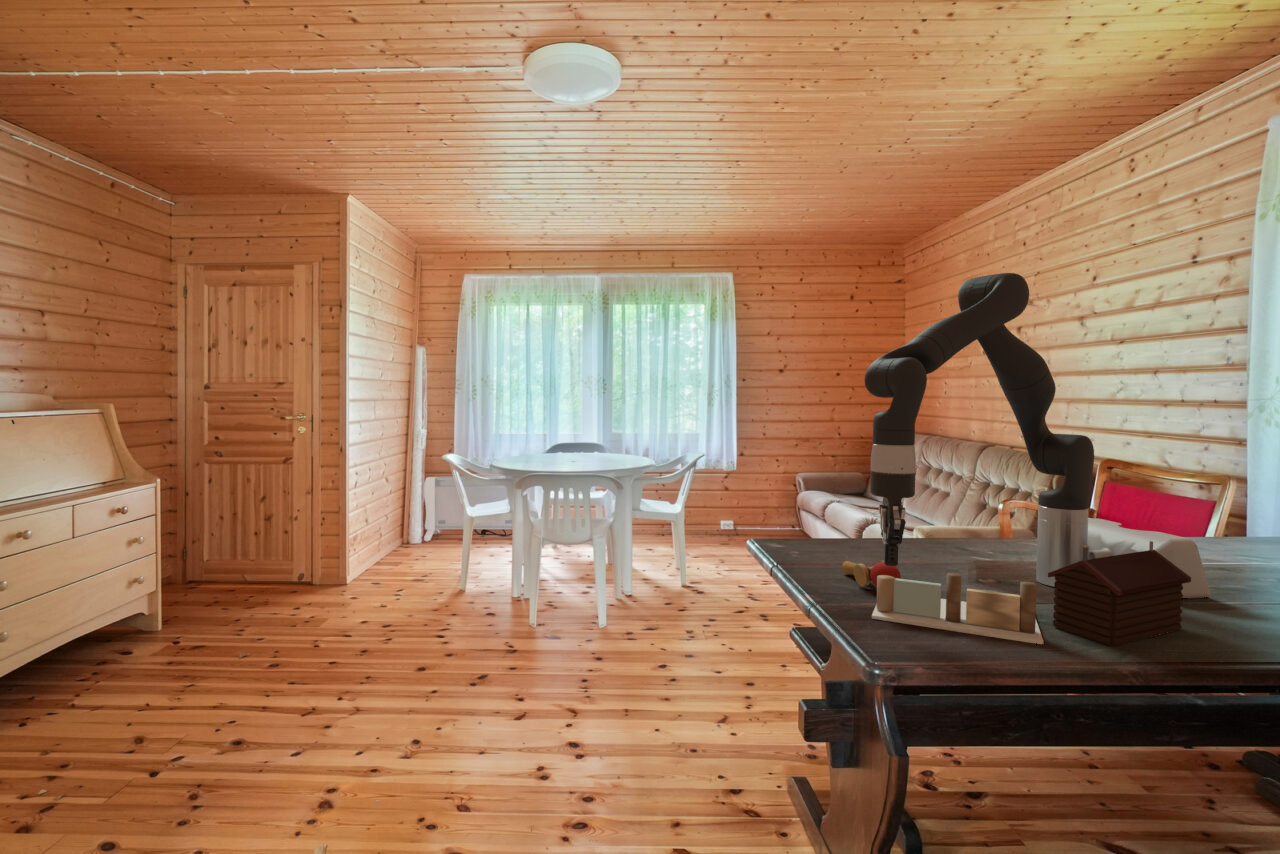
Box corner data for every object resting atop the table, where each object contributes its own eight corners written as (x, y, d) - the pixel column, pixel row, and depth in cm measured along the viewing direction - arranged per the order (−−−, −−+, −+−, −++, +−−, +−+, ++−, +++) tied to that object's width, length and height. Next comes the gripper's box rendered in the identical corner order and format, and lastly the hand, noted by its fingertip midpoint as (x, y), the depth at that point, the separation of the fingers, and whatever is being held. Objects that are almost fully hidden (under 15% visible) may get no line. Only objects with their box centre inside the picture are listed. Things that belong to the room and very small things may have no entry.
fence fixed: (1034, 633, 109) (1035, 582, 108) (1035, 638, 107) (1037, 586, 106) (945, 620, 115) (946, 572, 115) (945, 624, 113) (946, 575, 113)
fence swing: (940, 614, 116) (941, 581, 116) (940, 619, 113) (940, 586, 113) (877, 605, 121) (878, 574, 121) (875, 610, 118) (876, 578, 118)
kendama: (829, 580, 145) (875, 589, 127) (832, 552, 146) (878, 558, 128) (859, 585, 146) (908, 595, 129) (862, 558, 147) (911, 564, 130)
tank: (1047, 569, 151) (1049, 518, 150) (1107, 567, 153) (1109, 516, 152) (1142, 602, 126) (1144, 541, 125) (1212, 599, 128) (1215, 539, 127)
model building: (1117, 611, 121) (1120, 534, 120) (1189, 632, 110) (1192, 547, 109) (1046, 626, 113) (1048, 544, 112) (1116, 649, 102) (1119, 559, 101)
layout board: (1032, 613, 119) (1032, 610, 119) (1043, 644, 104) (1043, 640, 104) (882, 593, 131) (882, 590, 131) (871, 618, 116) (871, 615, 116)
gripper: (923, 474, 105) (920, 576, 106) (908, 466, 118) (906, 557, 118) (875, 472, 107) (873, 572, 107) (866, 465, 119) (864, 554, 120)
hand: (890, 564), depth 113 cm, fingers closed
